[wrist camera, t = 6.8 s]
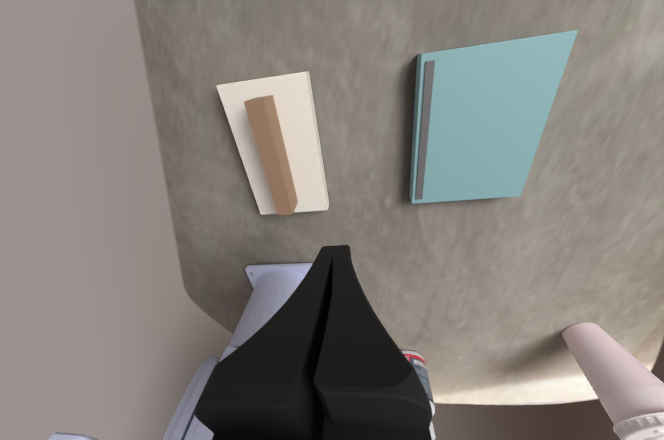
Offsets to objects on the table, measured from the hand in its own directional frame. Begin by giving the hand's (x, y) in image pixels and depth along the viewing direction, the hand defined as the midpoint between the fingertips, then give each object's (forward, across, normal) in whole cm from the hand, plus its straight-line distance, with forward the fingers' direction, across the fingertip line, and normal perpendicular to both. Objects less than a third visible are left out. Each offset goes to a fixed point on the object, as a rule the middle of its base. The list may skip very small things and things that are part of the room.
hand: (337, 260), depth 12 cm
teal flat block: (+9, -9, -3) cm, 14 cm away
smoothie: (+10, -26, +22) cm, 35 cm away
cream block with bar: (+9, +4, -3) cm, 11 cm away
